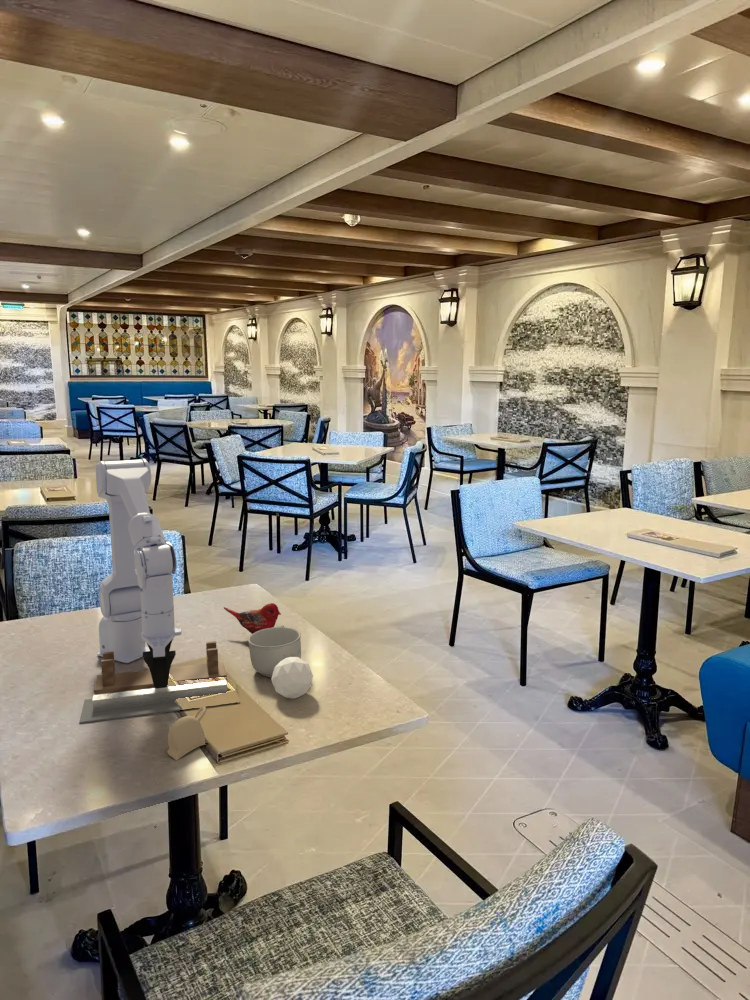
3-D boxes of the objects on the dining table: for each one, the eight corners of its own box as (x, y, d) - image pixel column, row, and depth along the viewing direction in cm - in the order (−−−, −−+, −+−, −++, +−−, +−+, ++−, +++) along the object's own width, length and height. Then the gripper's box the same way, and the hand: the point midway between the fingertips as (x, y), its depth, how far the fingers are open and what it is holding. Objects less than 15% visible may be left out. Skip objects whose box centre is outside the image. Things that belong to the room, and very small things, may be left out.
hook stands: (94, 695, 133) (92, 664, 132) (97, 680, 139) (95, 651, 138) (226, 679, 140) (225, 650, 139) (223, 666, 147) (222, 638, 145)
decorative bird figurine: (277, 649, 156) (276, 606, 154) (219, 633, 165) (218, 593, 163) (285, 645, 158) (285, 603, 156) (228, 630, 167) (227, 590, 166)
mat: (79, 723, 122) (79, 722, 122) (84, 701, 130) (84, 699, 130) (240, 703, 130) (240, 701, 130) (235, 683, 138) (235, 681, 138)
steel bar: (93, 711, 126) (92, 700, 125) (94, 706, 128) (93, 695, 127) (227, 695, 133) (227, 684, 132) (226, 690, 135) (226, 679, 134)
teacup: (291, 684, 138) (291, 647, 137) (240, 679, 140) (239, 642, 139) (312, 657, 151) (311, 622, 150) (265, 653, 154) (264, 619, 152)
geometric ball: (303, 707, 134) (327, 680, 132) (272, 706, 129) (295, 677, 126) (289, 677, 139) (311, 650, 137) (257, 674, 133) (280, 646, 131)
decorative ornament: (160, 753, 113) (158, 722, 112) (201, 732, 119) (200, 703, 118) (175, 761, 110) (174, 730, 109) (216, 740, 117) (215, 710, 116)
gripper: (181, 620, 121) (184, 692, 124) (179, 595, 135) (181, 660, 137) (139, 624, 119) (142, 697, 122) (141, 598, 133) (144, 664, 135)
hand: (160, 678), depth 129 cm, fingers open, 7 cm apart
